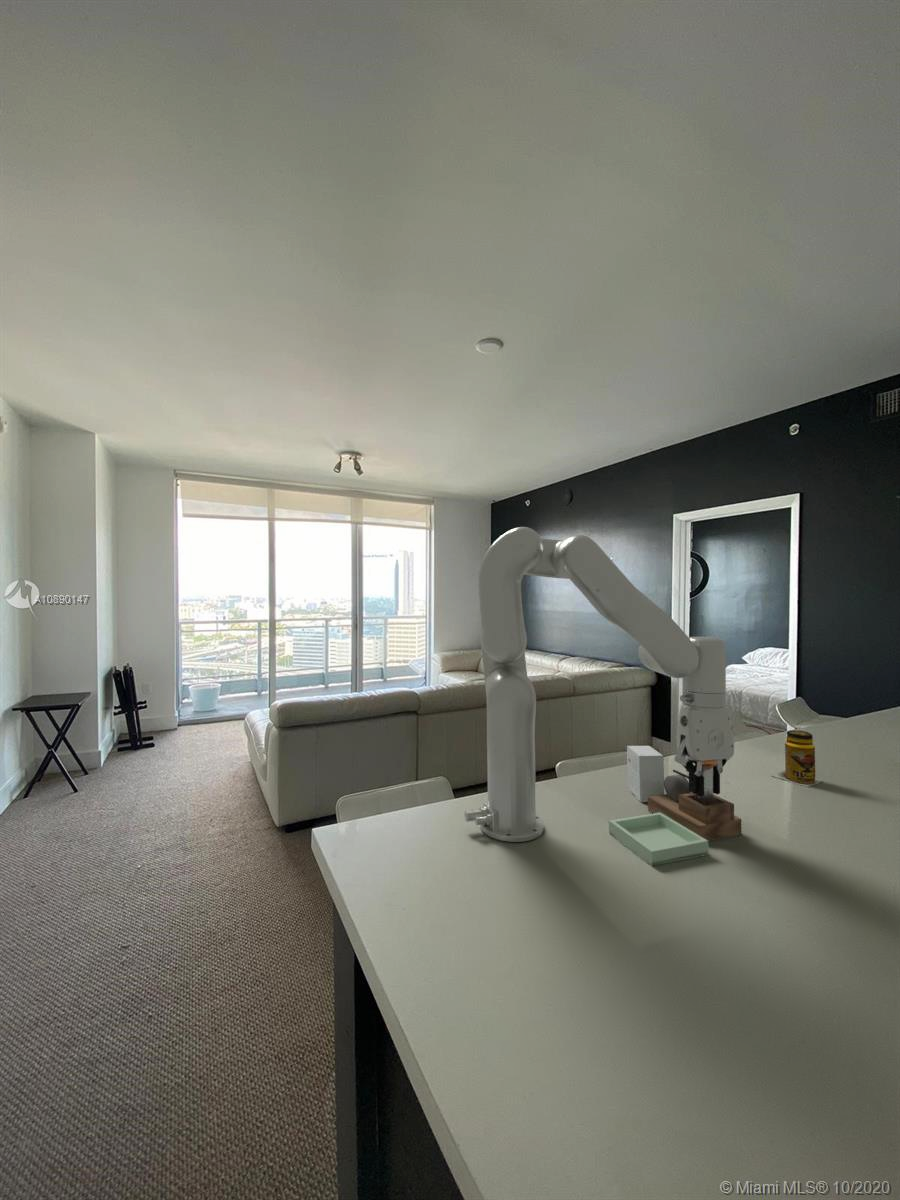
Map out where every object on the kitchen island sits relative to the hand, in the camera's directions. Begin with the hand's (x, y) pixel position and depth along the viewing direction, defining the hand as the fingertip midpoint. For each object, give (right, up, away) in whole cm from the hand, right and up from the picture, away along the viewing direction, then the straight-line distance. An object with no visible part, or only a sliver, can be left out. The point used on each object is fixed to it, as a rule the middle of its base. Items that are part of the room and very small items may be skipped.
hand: (704, 791), depth 93 cm
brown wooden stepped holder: (-1, -8, +3) cm, 8 cm away
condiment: (+37, -8, +26) cm, 46 cm away
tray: (-12, -8, -5) cm, 15 cm away
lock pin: (0, -4, 0) cm, 4 cm away
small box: (-5, -8, +17) cm, 19 cm away
